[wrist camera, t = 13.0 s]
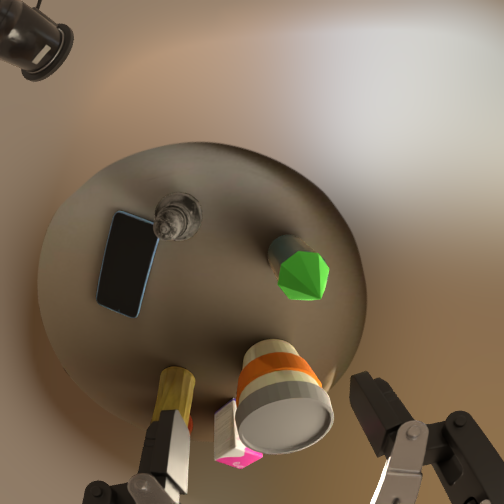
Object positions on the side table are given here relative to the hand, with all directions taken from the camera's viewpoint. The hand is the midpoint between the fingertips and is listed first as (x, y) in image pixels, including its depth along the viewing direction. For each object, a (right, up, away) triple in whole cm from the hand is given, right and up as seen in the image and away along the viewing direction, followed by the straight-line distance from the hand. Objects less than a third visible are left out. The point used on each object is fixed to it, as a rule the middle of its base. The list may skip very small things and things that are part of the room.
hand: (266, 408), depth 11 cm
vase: (-13, -15, +32) cm, 38 cm away
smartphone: (-19, +5, +26) cm, 33 cm away
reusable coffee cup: (+2, -11, +33) cm, 34 cm away
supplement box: (-4, -23, +35) cm, 42 cm away
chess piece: (-10, +12, +25) cm, 30 cm away
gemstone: (+5, +4, +19) cm, 20 cm away
